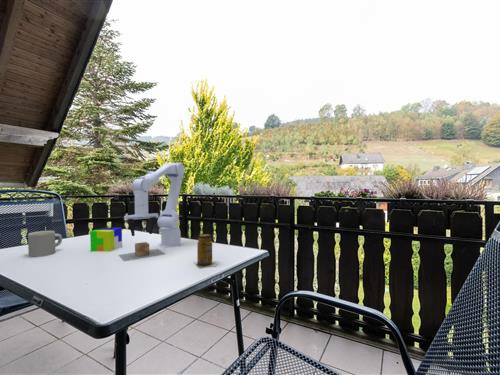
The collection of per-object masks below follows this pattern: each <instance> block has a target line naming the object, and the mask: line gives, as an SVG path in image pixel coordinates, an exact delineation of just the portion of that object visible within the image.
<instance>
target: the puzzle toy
mask: <svg viewBox="0 0 500 375" xmlns="http://www.w3.org/2000/svg"><path fill="white" fill-rule="evenodd" d="M89 234H90V236H89V237H90V252H91V253H92V252H112V251H115V250H117V249H119V248H122V247H123V228H122V227H100V228H97V229H94V230H90V233H89Z"/></svg>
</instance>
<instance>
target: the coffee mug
mask: <svg viewBox="0 0 500 375" xmlns="http://www.w3.org/2000/svg"><path fill="white" fill-rule="evenodd" d="M56 237H57V242H56ZM27 238H28V239H27V242H28V245H27V246H28V247H27V248H28V257H30V258H40V257H46V256H47V257H48V256H52V255H53V254H56V247H58V246H60V245H61V244H62V242H63V237H62V235H61V234H60V233H56V231H55V230H40V231H33V232H29V233H28V234H27Z"/></svg>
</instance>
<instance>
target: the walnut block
mask: <svg viewBox="0 0 500 375" xmlns="http://www.w3.org/2000/svg"><path fill="white" fill-rule="evenodd" d="M149 250H150V243H148V242H147V241H143V242H142V241H141V242H135V243H134V252H135V255H137V256H138V257H139V256H145V255H149Z"/></svg>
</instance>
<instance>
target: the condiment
mask: <svg viewBox="0 0 500 375" xmlns="http://www.w3.org/2000/svg"><path fill="white" fill-rule="evenodd" d="M197 237H198V239H197V248H196V249H197V251H196V252H197V253H196V254H197V255H196V256H197V260H196V261H194V262H193V263H194V264H195V265H196V266H197V268H199V269H202V268H203V269H204V268H212V267H216V266H217V264H216V263H214V262H213V241H212V235H211V234H209V233H202V234H198V236H197Z"/></svg>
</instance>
